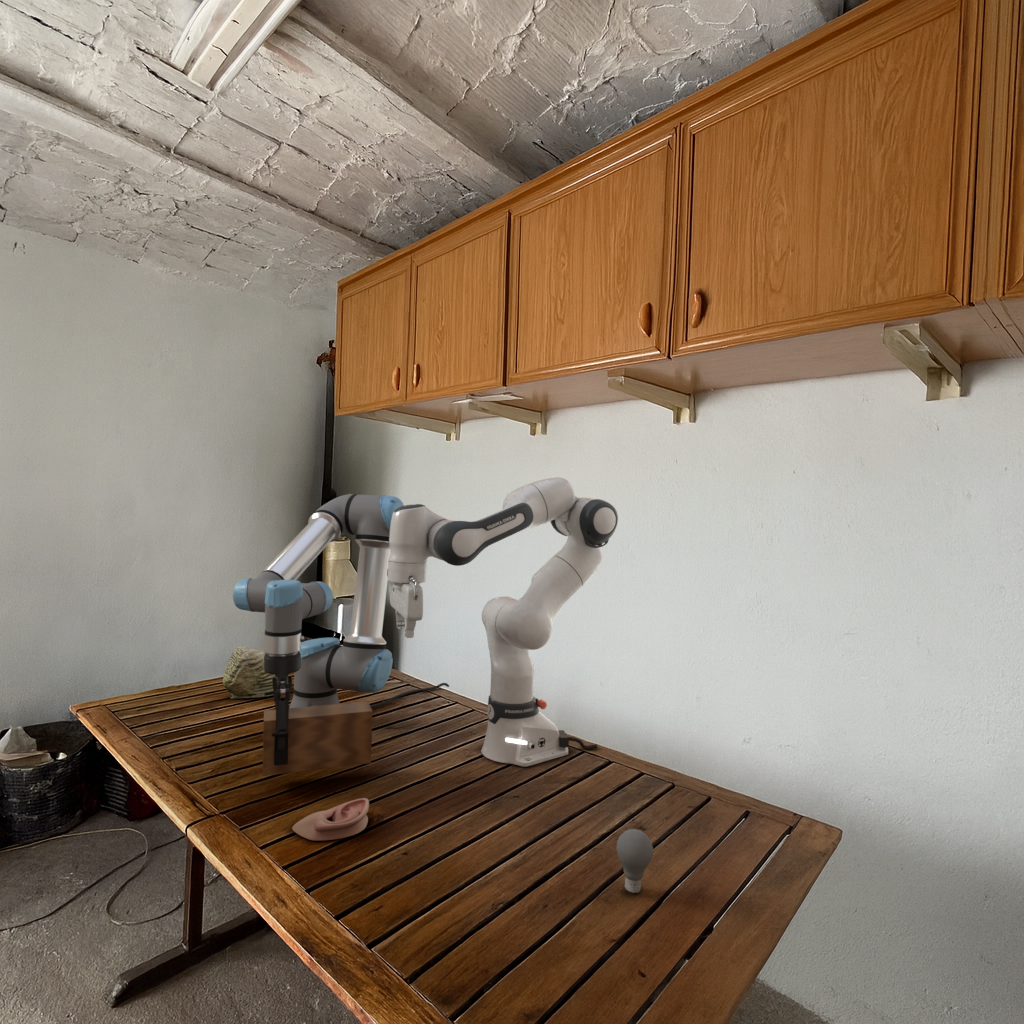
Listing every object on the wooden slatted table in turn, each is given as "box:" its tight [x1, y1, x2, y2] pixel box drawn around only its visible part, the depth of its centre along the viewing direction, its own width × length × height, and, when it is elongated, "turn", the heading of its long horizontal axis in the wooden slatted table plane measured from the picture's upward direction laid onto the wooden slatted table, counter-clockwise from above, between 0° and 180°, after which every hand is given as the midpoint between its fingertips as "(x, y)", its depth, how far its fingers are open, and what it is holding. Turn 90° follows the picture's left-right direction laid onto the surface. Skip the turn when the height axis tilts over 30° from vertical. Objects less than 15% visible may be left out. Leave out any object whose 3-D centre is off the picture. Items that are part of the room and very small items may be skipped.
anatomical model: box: [291, 797, 370, 842], centre depth 122 cm, size 13×4×12 cm
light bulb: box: [615, 828, 654, 894], centre depth 106 cm, size 6×6×10 cm
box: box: [262, 701, 373, 777], centre depth 141 cm, size 23×6×12 cm, turn 111°
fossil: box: [222, 646, 276, 699], centre depth 198 cm, size 9×18×15 cm, turn 132°
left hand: (280, 756), depth 138 cm, fingers closed on box, 6 cm apart
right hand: (404, 632), depth 148 cm, fingers open, 8 cm apart
